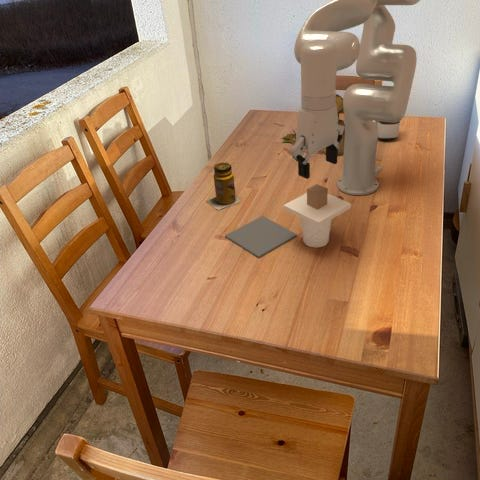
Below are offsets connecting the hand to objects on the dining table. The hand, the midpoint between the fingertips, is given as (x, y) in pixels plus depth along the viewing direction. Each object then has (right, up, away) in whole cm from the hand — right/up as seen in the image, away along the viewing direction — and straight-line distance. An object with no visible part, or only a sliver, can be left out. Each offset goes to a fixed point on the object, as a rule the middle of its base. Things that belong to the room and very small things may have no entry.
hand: (317, 169), depth 115 cm
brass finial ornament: (+16, +16, +58) cm, 62 cm away
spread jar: (+34, +22, +64) cm, 75 cm away
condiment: (-24, -5, +33) cm, 41 cm away
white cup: (+1, -18, +11) cm, 21 cm away
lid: (+1, -9, +6) cm, 11 cm away
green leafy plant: (+3, +21, +69) cm, 72 cm away
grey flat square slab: (-13, -16, +15) cm, 26 cm away
